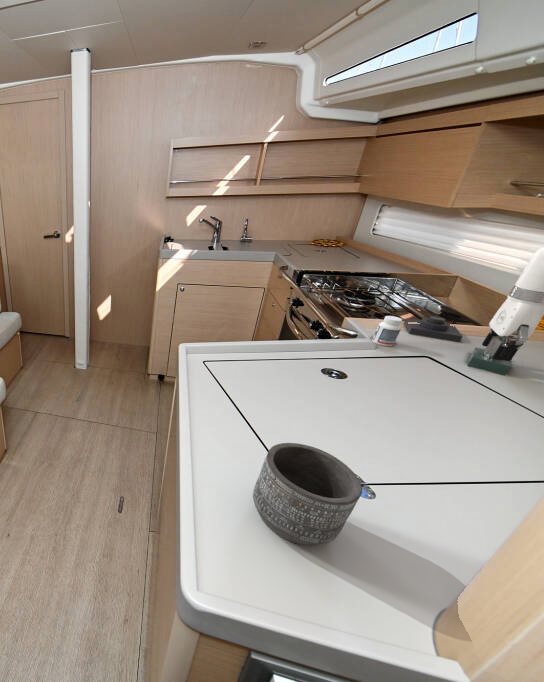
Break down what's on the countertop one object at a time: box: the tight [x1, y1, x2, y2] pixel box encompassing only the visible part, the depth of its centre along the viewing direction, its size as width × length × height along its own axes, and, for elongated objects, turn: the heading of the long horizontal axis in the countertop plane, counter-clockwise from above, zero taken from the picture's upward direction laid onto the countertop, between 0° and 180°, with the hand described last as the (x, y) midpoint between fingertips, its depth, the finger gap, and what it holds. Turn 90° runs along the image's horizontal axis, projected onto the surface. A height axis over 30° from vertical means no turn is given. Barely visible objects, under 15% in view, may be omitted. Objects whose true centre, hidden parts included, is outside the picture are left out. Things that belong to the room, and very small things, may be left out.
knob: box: [482, 336, 514, 360], centre depth 99 cm, size 4×4×6 cm
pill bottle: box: [371, 315, 403, 347], centre depth 114 cm, size 5×5×9 cm
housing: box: [403, 317, 464, 343], centre depth 120 cm, size 12×10×4 cm
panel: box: [466, 346, 517, 376], centre depth 101 cm, size 9×8×3 cm
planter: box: [252, 442, 363, 546], centre depth 58 cm, size 12×12×13 cm
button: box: [428, 315, 446, 325], centre depth 119 cm, size 4×4×2 cm
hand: (495, 352), depth 100 cm, fingers open, 8 cm apart
